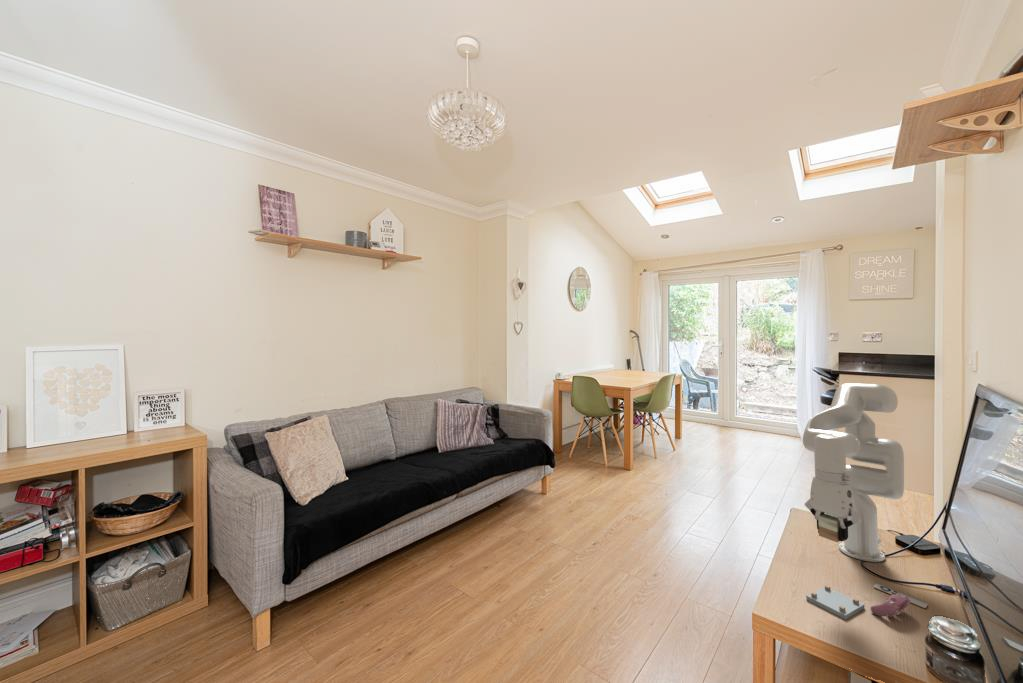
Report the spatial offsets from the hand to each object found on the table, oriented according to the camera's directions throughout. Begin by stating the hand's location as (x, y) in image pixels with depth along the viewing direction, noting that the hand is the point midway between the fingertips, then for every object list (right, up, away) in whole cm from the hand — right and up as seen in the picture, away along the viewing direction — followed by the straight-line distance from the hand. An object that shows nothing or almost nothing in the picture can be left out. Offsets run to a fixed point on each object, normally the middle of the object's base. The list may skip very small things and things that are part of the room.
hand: (832, 535), depth 122 cm
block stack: (0, 0, 0) cm, 0 cm away
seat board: (-2, -18, -4) cm, 19 cm away
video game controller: (+10, -18, -9) cm, 23 cm away
